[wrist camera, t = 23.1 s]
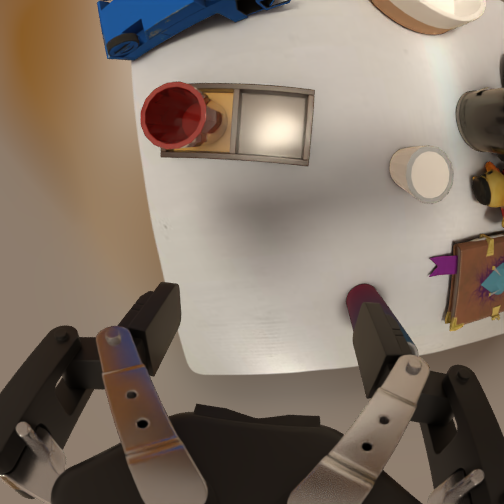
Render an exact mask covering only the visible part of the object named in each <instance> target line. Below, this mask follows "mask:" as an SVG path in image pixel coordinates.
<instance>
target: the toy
mask: <svg viewBox="0 0 504 504" xmlns="http://www.w3.org/2000/svg"><path fill="white" fill-rule="evenodd" d="M485 168H486V170H487V172H486V173H485V174H482V175H481V176H480V177H477V176H476V177H473V185H472V187H473V192H474V194H475V196H476V198H477V200H478V201H479V203H480V204H483V205H487V206H489V207H501V211H502V216H503V220H502V227H503V228H504V169H503V170H502V172H500V170H499V168H496V167H495V165H494V164H493V163H492V162H490V161H489V162H487V163H486V165H485Z"/></svg>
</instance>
